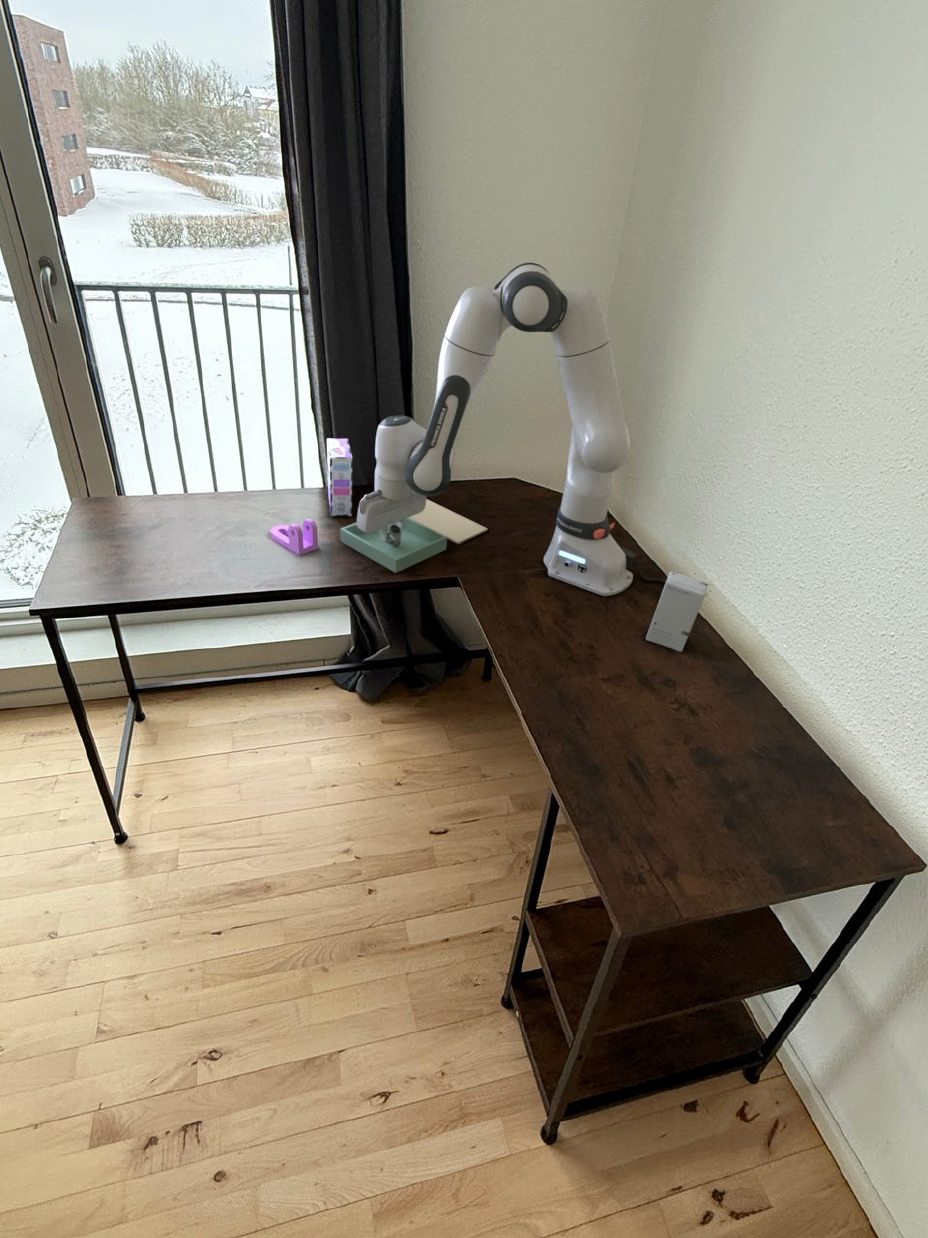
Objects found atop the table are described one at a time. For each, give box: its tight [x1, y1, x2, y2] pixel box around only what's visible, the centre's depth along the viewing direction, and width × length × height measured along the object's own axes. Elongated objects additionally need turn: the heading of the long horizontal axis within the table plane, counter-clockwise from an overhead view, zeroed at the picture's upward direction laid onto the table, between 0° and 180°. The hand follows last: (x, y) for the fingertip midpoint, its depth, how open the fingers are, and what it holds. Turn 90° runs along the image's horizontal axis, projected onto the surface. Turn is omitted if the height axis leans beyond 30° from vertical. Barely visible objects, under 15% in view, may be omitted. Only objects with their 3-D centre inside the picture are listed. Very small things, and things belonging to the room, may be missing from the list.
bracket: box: [270, 518, 319, 556], centre depth 161 cm, size 13×6×7 cm, turn 48°
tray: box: [339, 517, 448, 574], centre depth 165 cm, size 20×18×4 cm
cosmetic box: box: [645, 571, 709, 653], centre depth 140 cm, size 8×6×15 cm
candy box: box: [326, 437, 353, 517], centre depth 177 cm, size 14×6×16 cm, turn 12°
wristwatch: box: [385, 524, 401, 546], centre depth 165 cm, size 4×6×5 cm, turn 42°
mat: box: [409, 498, 489, 545], centre depth 180 cm, size 24×12×1 cm, turn 49°
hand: (391, 536), depth 166 cm, fingers closed on wristwatch, 3 cm apart
